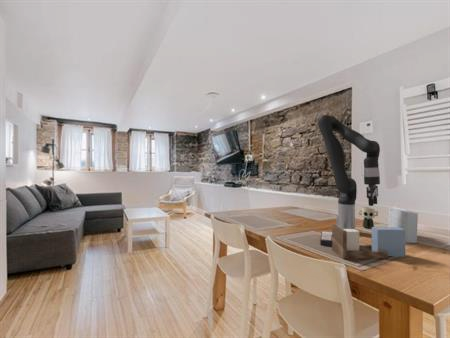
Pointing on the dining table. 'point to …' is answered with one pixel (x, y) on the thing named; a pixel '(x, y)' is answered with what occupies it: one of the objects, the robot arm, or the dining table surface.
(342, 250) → the book rack
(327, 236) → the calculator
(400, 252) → the loose book
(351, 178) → the robot arm
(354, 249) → the shelved book
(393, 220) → the skincare box
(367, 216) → the character mug
